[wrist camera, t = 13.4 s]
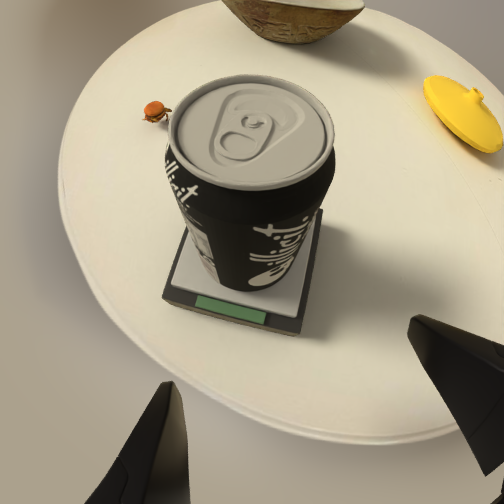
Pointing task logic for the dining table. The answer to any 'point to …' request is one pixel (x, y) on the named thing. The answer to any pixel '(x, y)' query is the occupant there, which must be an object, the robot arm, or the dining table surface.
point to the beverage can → (249, 174)
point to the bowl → (295, 17)
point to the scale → (244, 303)
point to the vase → (464, 113)
